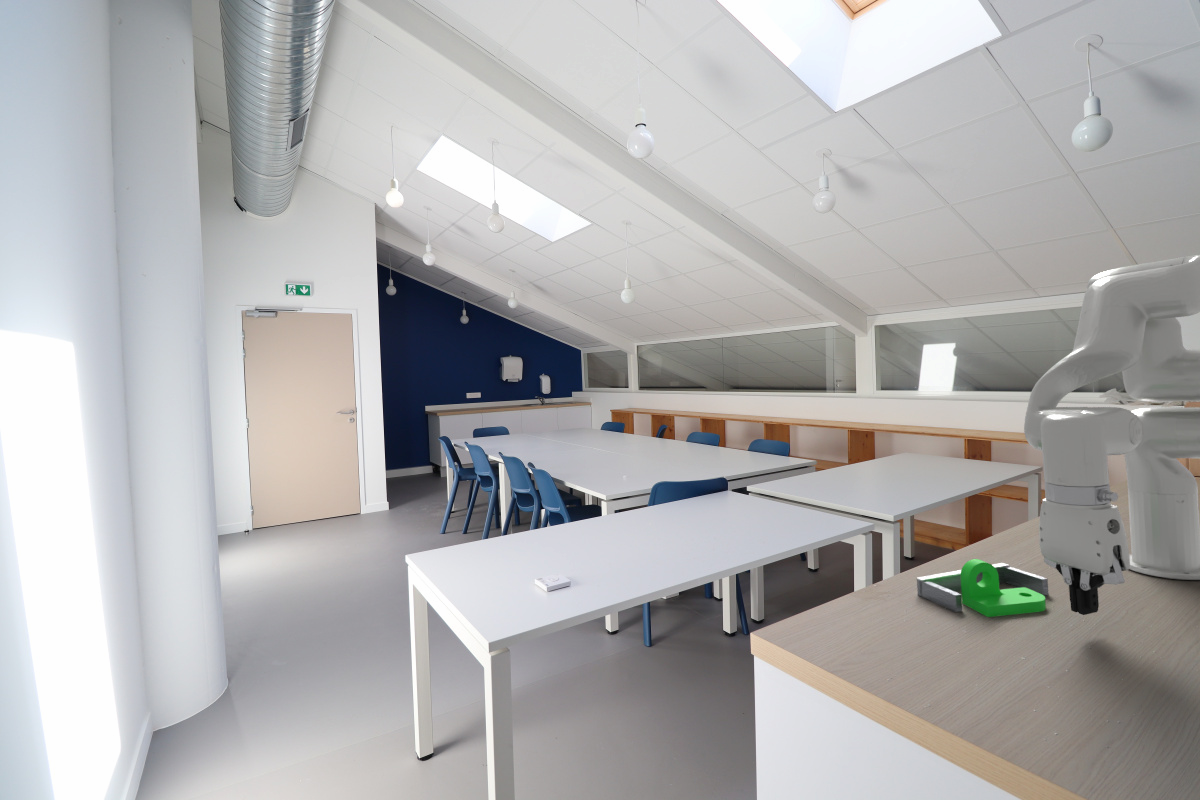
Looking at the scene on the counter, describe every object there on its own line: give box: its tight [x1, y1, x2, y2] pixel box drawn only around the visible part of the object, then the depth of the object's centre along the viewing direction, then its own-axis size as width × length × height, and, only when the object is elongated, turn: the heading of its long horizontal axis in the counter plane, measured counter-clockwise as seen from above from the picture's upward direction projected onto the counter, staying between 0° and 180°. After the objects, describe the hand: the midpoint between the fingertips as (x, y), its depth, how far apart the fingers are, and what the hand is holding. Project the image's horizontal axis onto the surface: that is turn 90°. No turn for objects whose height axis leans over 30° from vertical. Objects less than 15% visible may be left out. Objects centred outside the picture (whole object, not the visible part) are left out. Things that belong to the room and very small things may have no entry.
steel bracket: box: [916, 562, 1049, 613], centre depth 101 cm, size 20×9×3 cm, turn 103°
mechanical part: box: [960, 558, 1047, 618], centre depth 96 cm, size 12×6×8 cm, turn 93°
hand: (1084, 611), depth 84 cm, fingers closed
